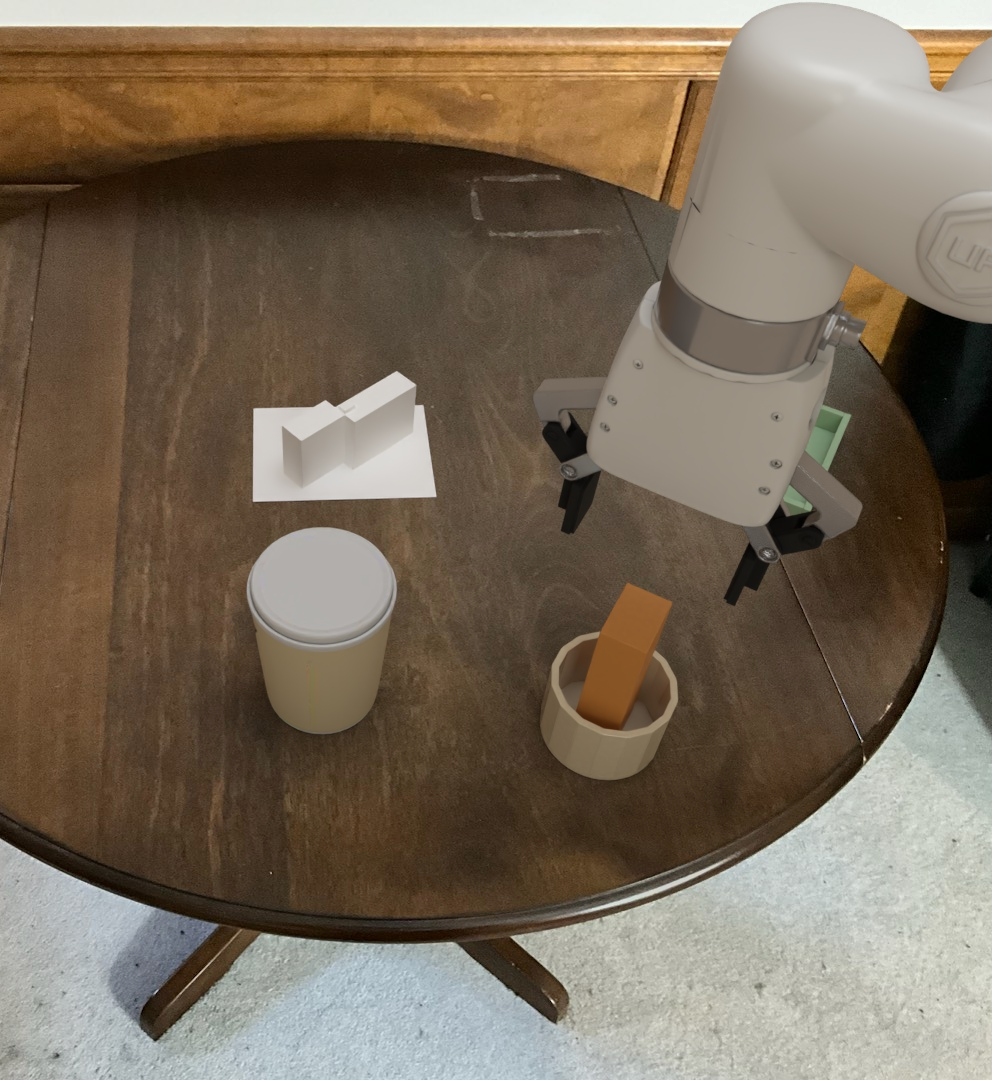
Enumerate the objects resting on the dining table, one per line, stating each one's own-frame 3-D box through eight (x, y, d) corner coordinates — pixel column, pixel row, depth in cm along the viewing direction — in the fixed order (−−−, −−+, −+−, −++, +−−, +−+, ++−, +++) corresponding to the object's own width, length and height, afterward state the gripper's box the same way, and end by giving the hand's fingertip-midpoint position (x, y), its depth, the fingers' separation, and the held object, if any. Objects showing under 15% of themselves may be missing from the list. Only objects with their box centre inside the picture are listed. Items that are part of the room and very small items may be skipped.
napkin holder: (423, 403, 98) (427, 352, 94) (438, 496, 90) (444, 446, 86) (251, 408, 97) (248, 356, 92) (252, 503, 89) (249, 452, 85)
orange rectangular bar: (632, 709, 77) (673, 601, 68) (608, 758, 74) (647, 653, 65) (592, 690, 78) (627, 582, 69) (567, 738, 75) (599, 632, 66)
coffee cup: (311, 613, 82) (309, 501, 73) (415, 677, 79) (426, 568, 70) (227, 698, 77) (214, 589, 68) (335, 770, 73) (336, 666, 64)
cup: (675, 709, 78) (695, 664, 74) (633, 801, 73) (651, 758, 69) (567, 660, 80) (580, 613, 76) (520, 745, 75) (531, 700, 71)
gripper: (954, 326, 50) (822, 570, 62) (595, 206, 55) (542, 454, 68) (919, 424, 45) (785, 665, 58) (532, 283, 50) (488, 533, 63)
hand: (654, 551), depth 63 cm, fingers open, 9 cm apart
